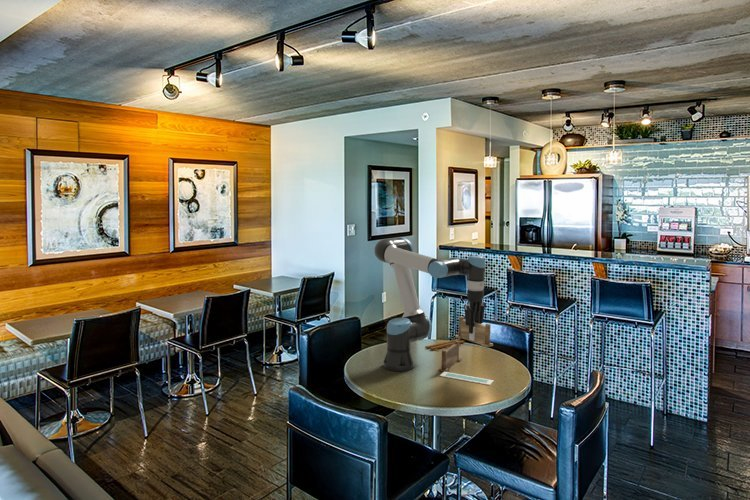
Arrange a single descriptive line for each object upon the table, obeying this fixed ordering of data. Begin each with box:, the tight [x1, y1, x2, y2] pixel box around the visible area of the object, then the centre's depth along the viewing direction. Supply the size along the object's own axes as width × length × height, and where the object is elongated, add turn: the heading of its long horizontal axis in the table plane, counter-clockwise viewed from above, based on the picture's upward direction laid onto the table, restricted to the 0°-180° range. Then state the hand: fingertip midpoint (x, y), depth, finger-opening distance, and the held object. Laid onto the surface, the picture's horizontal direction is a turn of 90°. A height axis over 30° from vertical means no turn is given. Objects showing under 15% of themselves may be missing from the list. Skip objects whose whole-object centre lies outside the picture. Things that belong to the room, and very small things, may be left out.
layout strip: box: [439, 371, 494, 386], centre depth 230 cm, size 24×6×1 cm, turn 61°
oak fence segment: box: [454, 315, 494, 348], centre depth 230 cm, size 4×19×10 cm, turn 37°
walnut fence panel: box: [438, 341, 463, 373], centre depth 248 cm, size 4×21×10 cm, turn 151°
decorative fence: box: [424, 338, 466, 352], centre depth 282 cm, size 25×2×10 cm
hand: (473, 339), depth 231 cm, fingers closed on oak fence segment, 2 cm apart
